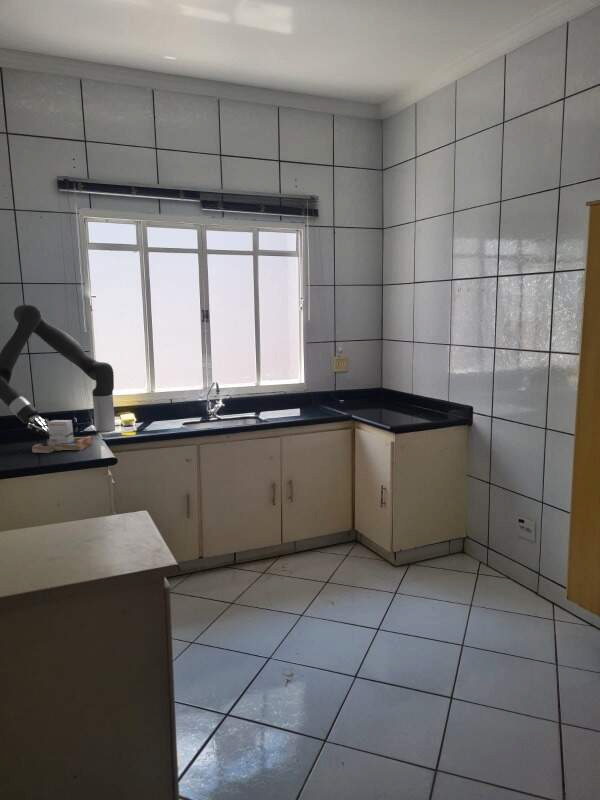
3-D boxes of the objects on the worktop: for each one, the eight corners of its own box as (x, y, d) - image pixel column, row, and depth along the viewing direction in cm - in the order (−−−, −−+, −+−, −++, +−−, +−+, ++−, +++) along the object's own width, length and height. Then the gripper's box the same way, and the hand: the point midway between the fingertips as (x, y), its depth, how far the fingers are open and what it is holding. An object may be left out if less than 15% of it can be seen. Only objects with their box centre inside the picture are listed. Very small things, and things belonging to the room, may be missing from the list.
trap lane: (54, 442, 252) (53, 433, 251) (97, 443, 249) (96, 434, 248) (28, 452, 234) (27, 442, 233) (74, 453, 231) (73, 443, 230)
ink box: (75, 446, 242) (72, 419, 241) (68, 449, 238) (66, 421, 236) (56, 446, 244) (54, 419, 242) (49, 449, 239) (47, 421, 237)
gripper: (18, 405, 235) (48, 435, 234) (38, 401, 248) (66, 429, 247) (8, 418, 236) (37, 448, 236) (28, 413, 249) (56, 441, 249)
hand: (52, 438), depth 242 cm, fingers closed
